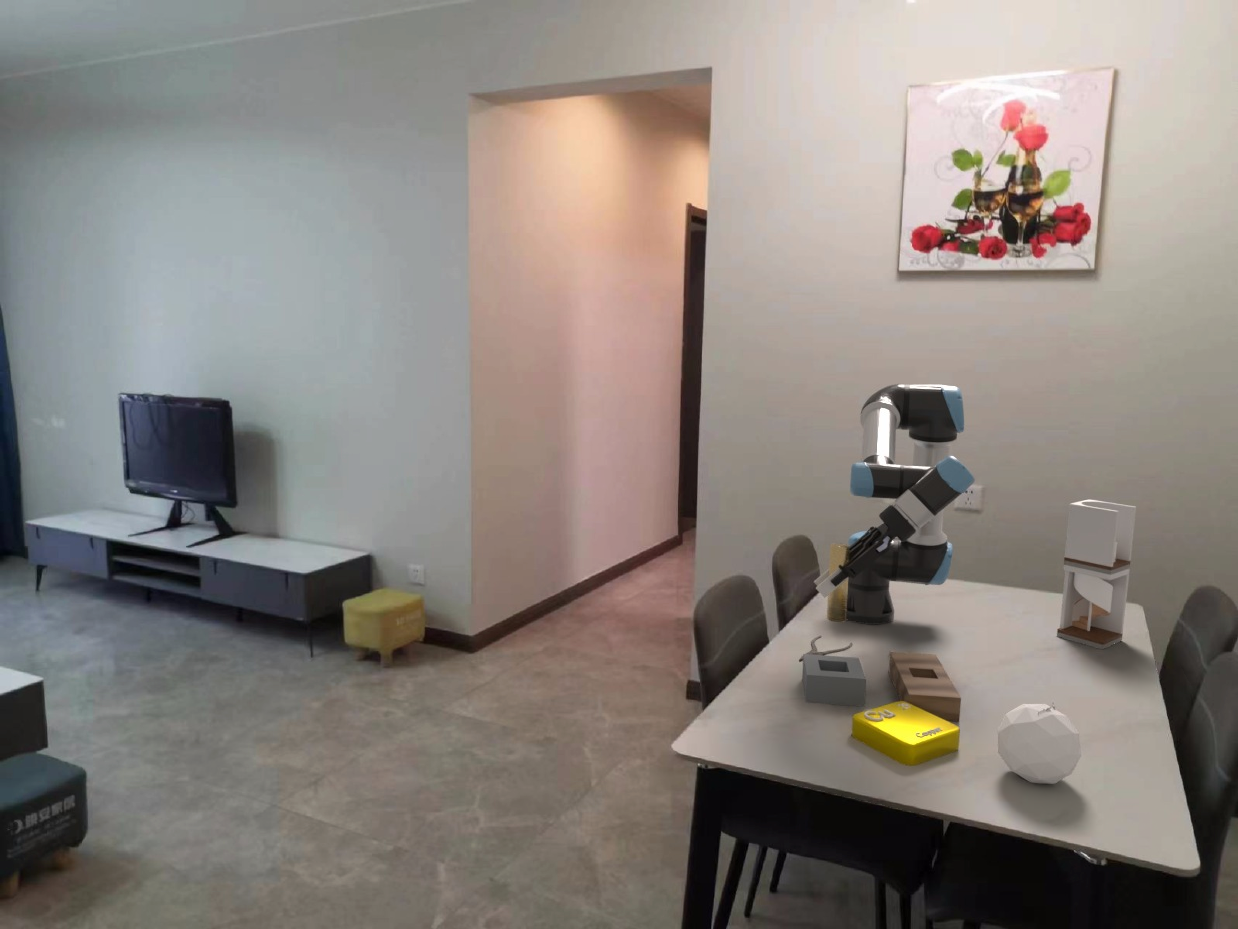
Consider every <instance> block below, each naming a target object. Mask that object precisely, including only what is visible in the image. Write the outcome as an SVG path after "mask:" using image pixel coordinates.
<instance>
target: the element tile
mask: <svg viewBox="0 0 1238 929" xmlns="http://www.w3.org/2000/svg"><path fill="white" fill-rule="evenodd" d="M851 722H852V723H851V736H852V737H853V738H854V739H855V740H857V741H858V742H860V743H862V744H864V745H866V746H868V747H869V748H871V749H873V750H875V751H877V752H879V753H880V754H882V755H884V756H886V757H888V758H890V759H892V760H893V761H895V762H897V763H899V764H901V765H905V766H909V767H910V766H917V765H920V764H922V763H925V762H929V761H931V760H935V759H937V758H940V757H943V756H945V755H949V754H951V753H955V752H956V751H958V750H959V748H960V747H959V745H960V736H961V729H960V727H959V726H958V725H957V724H955V723H952V722H951V721H946V720H944V719H941V718H939V717H937V716H935V715H933V714H931V713H929V712H926V711H924V710H922V709H920V708H918V707H916V706H914V705H911V704H909V703H907V702H904V701H900V700H899V701H894V702H891V703H888V704H883V705H880V706H877V707H873V708H871V709H867V710H864V711H860V712H856V713H854V714H853V715H852V721H851Z"/></svg>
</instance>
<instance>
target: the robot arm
mask: <svg viewBox="0 0 1238 929" xmlns="http://www.w3.org/2000/svg"><path fill="white" fill-rule="evenodd" d="M963 400H964V399H963V395H962V391H961V389H960V388H959V387H958V386H954V385H945V384H919V383H918V384H917V383H916V384H913V383H911V384H910V383H909V384H908V383H907V384H906V383H897V384H896V383H895V384H891V385H887V386H885V387H883V388H881V389H879V390H876V392H874V393H873V394H872V395H870V396H869V398H868V399H866V401H865V403H864V404H863V406H862V407H861V411H860V415H859V416H860V417H859V419H860V420H859V421H860V425H861V427H862V428H863V432H862V433H863V434H862V445H861V458H860V462H853V463H852V465H851V468H850V469H851V470H850V471H851V472H850V486H849V490H850V491H849V492H850V494H851V495H852V496H854V497H855V496H856V497H862V498H867V499H870V498H875V499H890V500H891V499H893V500H894V505H893V504H889V505H888V506H887V507H886V508H885V509H884V510H882V512H880V513H879V514H878V517H879V518H880V520H881V521H882V522H883V523H882V524H880V525H879V526H870V527H869V529H868V530H865V531H864V530H863V531H859V532H855V533H853V534H852V535H851V536H849V538H848V540H847V545H849V546H850V557H849V561H848V562H847V563H846V564H845V565H844V566H843V567H842V566H841V565H839V566H838V567H839V568H838V569H837V570H836V571H835V572H833V573H832V574H831V575H830V576H829V568H828V569H827V570H826V571H824V572H823V573H822V574H820V575H819V576H818V577H817V578H816V579H814V581H813V583H814V584H815V585H816V587H815V590H817V591H818V593H819V594H820V595H822V597H823V598H824V599H826V598H828V595H829V594H830V593H831V592H833V591H834V590H835V589H836V588H837V587H838V586H840V585H841V584H842V583H843V582H844V581H846V580H847V579H848V593H847V611H846V621H850V622H854V623H859V624H866V625H881V624H888V623H890V622H893V620H894V619H895V608H894V604H893V600H892V596H891V593H890V582H894V583H895V582H897V583H906V584H919V585H925V586H929V585H930V586H931V585H932V586H940V585H943V584H944V583H945V582H946V580H947V578H948V576H949V573H950V569H951V564H952V558H953V551H954V550H953V549H954V548H953V547H954V546H953V544H952V543H951V542H950V541H948V536H947V534H946V533H945V532H944V531H943V525H944V514H945V508H946V507H948V506H949V504H951V503H952V502H954V501H955V500H956V499H957V498H959V497H960V496H961V495H962V494H964V493H966V492H967V490H968V489H969V488H970V487H971V486H972V485H973V484H974V483H975V479H976V478H975V476H974V475H973V474H972V472H971V471H970V470H969V469H968V468H967V467H966V466H965V465H964V464H963V463H962V462H961V461H960V460H959V459H958V458H956V456H953V455H950V447H951V445H952V444H953V443H955V441H957V438H958V434H961V433H964V431H965V414H964V413H965V412H964V411H965V410H964V402H963ZM897 430H900V431H901V430H903V431H908V438H909V439H910V440H911V441H912V442H913V444H914V445H913V459H912V465H909V464H908V465H907V464H906V465H905V464H896V446H897V444H896V439H897V438H896V437H897Z"/></svg>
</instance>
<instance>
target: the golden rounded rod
mask: <svg viewBox="0 0 1238 929" xmlns="http://www.w3.org/2000/svg"><path fill="white" fill-rule="evenodd" d="M829 548H830V549H829V564H828V565H829V568H828V569H829V576H830V575H831V574H832V573H833V572H835V571H836V570H837V569H838V568H839V567H838V566H839V565H841V566H842V567H843V566H844V565H845V564H846V563H847V562H848V561H849V557H850V546H849V545H848V543H847V544H846V543H840V542H839V543H838V542H837V543H831V544H830V546H829ZM847 593H848V579H847V580H846V581H844V582H843V583H842V584H841V585H840V586H838V587H837V588H836V589H835V590H834V591H833V592H831V593H830V594H829V595H828V596H827V600H826V601H827V603H826V605H827V606H826V607H827V608H826V620H828V621H829V622H832V623H843V622H844V623H845V622H846V621H847V620H846V611H847Z"/></svg>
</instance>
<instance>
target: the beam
mask: <svg viewBox="0 0 1238 929" xmlns="http://www.w3.org/2000/svg"><path fill="white" fill-rule="evenodd" d="M888 663H889V665H888V673H889V676H890V679H891V680H892V683H893V686H894V687H895V690H896V694H897V696H898V699H899V701H904V702H907V703H909V704H911V705H914V706H916V707H918V708H920V709H922V710H924V711H926V712H929V713H931V714H933V715H935V716H937V717H939V718H941V719H944V720H946V721H948V722H960V717H961V716H960V715H961V705H962V704H961V701H962V697H961V695H960V694H959V692H958V690H957V688H956V687H955V685H954V683H953V681H952V680H951V678H950V677H949V675H948V673H947V671H946V670H945V668H944V666H943V665H942V663H941V661H940V660H939V657H938V656H937V655H936V654H930V653H916V652H901V651H889V662H888Z"/></svg>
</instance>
